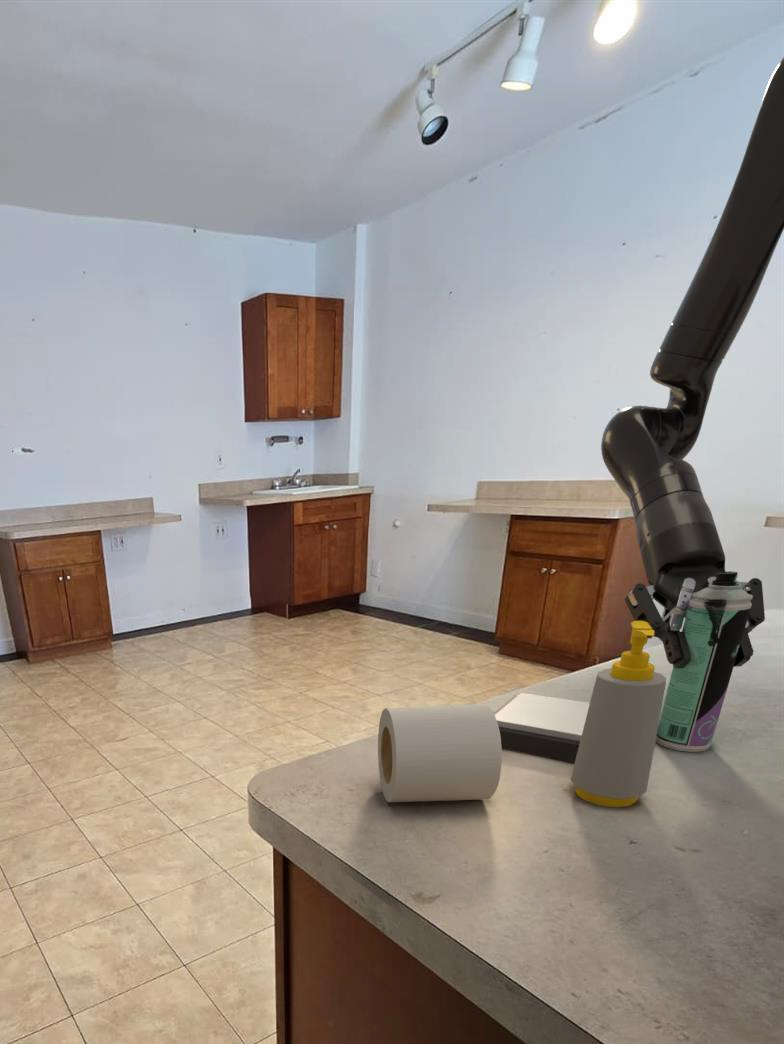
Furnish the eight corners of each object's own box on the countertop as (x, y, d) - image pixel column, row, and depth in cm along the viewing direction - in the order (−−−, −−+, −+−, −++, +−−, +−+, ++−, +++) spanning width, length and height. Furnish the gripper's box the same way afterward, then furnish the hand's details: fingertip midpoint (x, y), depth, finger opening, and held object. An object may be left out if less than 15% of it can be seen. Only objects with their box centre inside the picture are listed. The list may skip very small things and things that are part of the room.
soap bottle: (571, 806, 65) (605, 632, 58) (565, 777, 71) (594, 616, 63) (651, 814, 63) (697, 633, 55) (637, 784, 68) (677, 616, 61)
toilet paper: (464, 774, 73) (474, 691, 69) (494, 816, 64) (507, 724, 60) (376, 777, 74) (380, 695, 70) (393, 819, 65) (398, 728, 61)
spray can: (716, 753, 74) (769, 575, 65) (661, 749, 76) (705, 576, 67) (702, 736, 78) (749, 567, 70) (650, 733, 80) (690, 568, 72)
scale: (645, 733, 80) (651, 709, 79) (620, 772, 71) (626, 746, 70) (512, 711, 90) (515, 689, 89) (475, 743, 81) (478, 720, 80)
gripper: (629, 523, 74) (662, 649, 69) (763, 515, 73) (808, 644, 67) (600, 564, 81) (627, 682, 76) (721, 558, 80) (759, 678, 74)
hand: (712, 663), depth 71 cm, fingers closed on spray can, 5 cm apart
